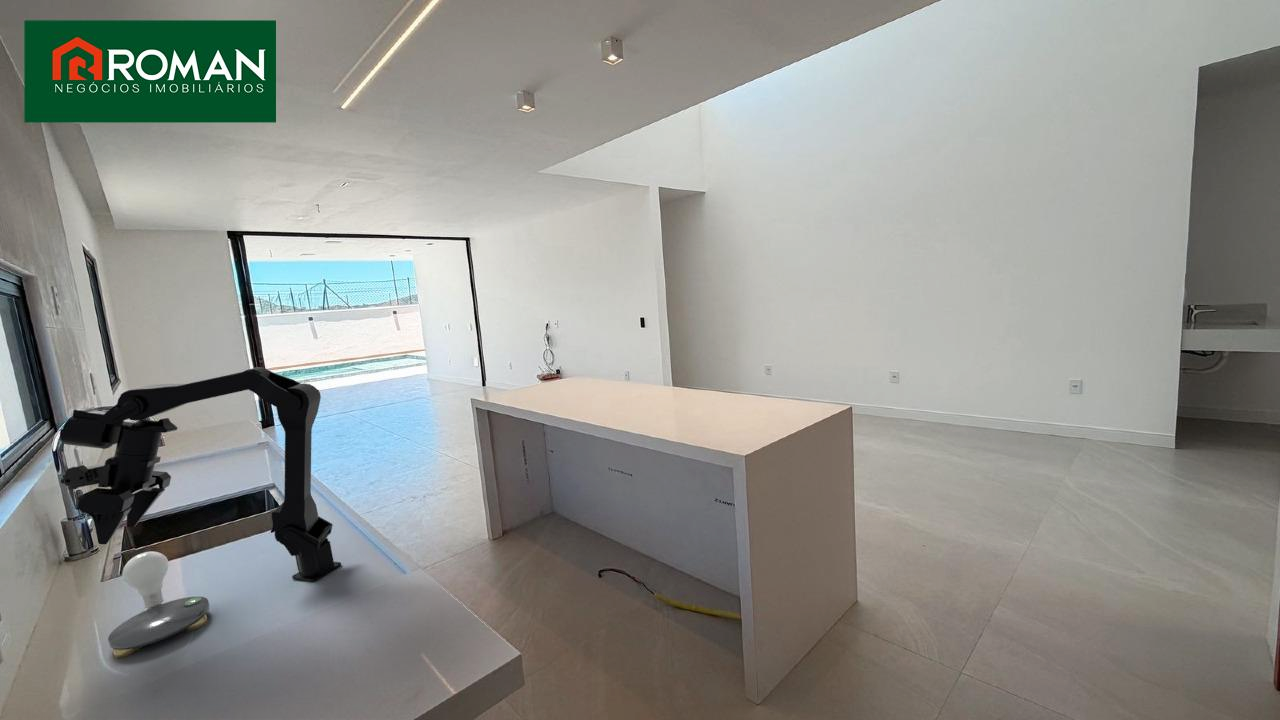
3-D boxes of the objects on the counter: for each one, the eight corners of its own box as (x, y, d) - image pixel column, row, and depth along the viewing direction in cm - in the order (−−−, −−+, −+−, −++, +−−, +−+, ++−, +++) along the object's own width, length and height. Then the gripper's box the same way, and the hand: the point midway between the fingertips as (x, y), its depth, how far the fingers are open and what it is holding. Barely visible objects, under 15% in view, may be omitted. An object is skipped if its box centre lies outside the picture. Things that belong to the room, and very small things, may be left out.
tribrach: (228, 613, 94) (225, 600, 94) (140, 663, 82) (137, 649, 81) (182, 605, 98) (179, 592, 98) (92, 652, 86) (89, 638, 85)
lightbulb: (184, 598, 100) (172, 546, 99) (144, 619, 94) (131, 564, 93) (164, 595, 102) (152, 544, 101) (124, 614, 97) (110, 561, 95)
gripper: (109, 438, 101) (90, 516, 100) (44, 457, 84) (21, 552, 83) (179, 445, 105) (162, 520, 104) (131, 464, 88) (110, 554, 87)
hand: (117, 535), depth 95 cm, fingers open, 9 cm apart
